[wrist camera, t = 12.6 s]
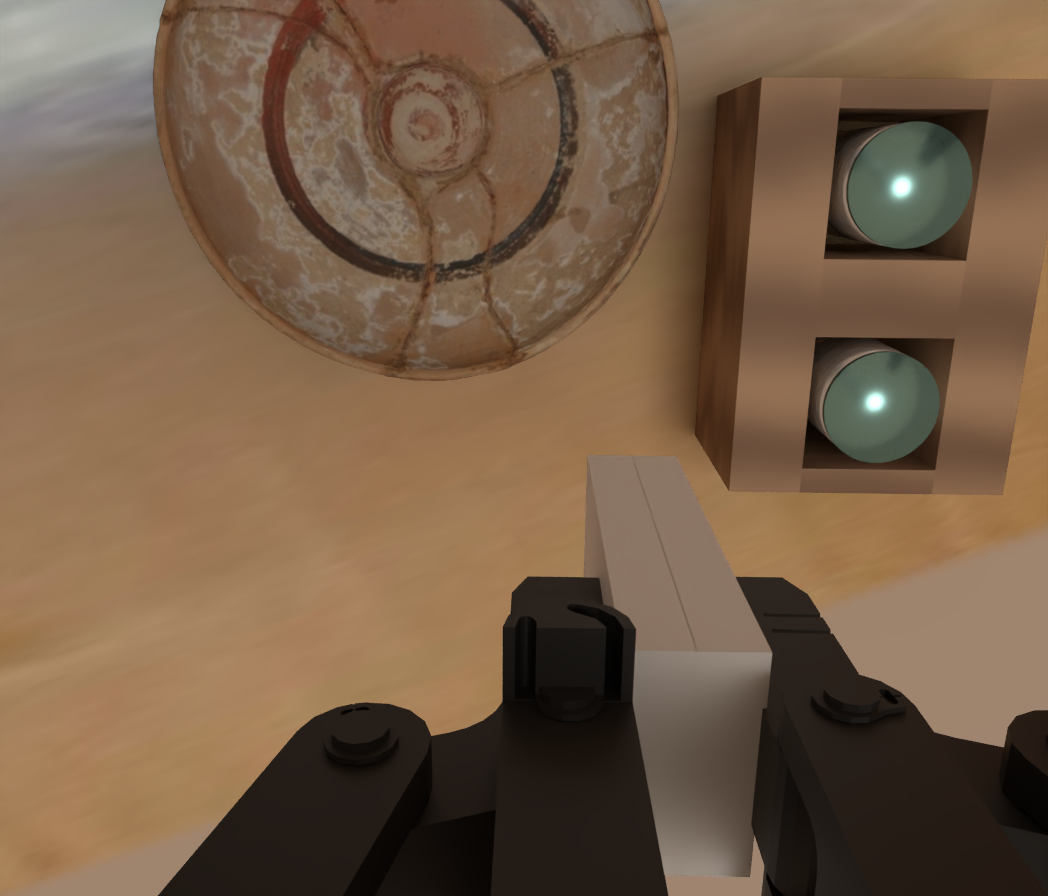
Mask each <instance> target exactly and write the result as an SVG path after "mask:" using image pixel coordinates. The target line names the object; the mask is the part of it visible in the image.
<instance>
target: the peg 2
mask: <svg viewBox="0 0 1048 896" xmlns="http://www.w3.org/2000/svg"><path fill="white" fill-rule="evenodd" d="M939 406H940V397H939V391H938V387H937V384H936V381H935V379H934V378H933V376H932V374H931V373H930V372H929V370H928V369H927V368H926V367H925V366H924V365H923V364H921V363H920V362H919V361H917V360H915V359H914V358H912V357H910V356H908V355H906V354H904V353H902V352H900V351H898V350H896V349H894V348H891V347H889V346H887V345H885V344H883V343H881V342H879V341H877V340H875V339H873V338H857V337H816V339H815V348H814V358H813V368H812V377H811V387H810V397H809V406H808V416H807V420H808V421H809V422H810V423H812V424H813V425H814V426H815V427H816V428H817V429H818V430H819V431H820V432H821V433H823V434H824V435H825V436H826V437H827V438H828V439H829V440H830V441H831V442H832V443H833V444H835V445H836V446H837V447H838V448H839V449H840V450H841V451H842V452H844V453H845V454H847V455H848V456H850V457H852V458H854V459H857V460H859V461H863V462H869V463H883V462H889V461H893V460H896V459H899V458H901V457H903V456H905V455H907V454H909V453H911V452H912V451H913V450H915V449H916V448H917V447H918V446H919V445H921V444H922V443H923V442H924V440H925V439H926V438H927V437H928V435H929V434H930V432H931V431H932V429H933V427H934V425H935V423H936V420H937V417H938V413H939Z"/></svg>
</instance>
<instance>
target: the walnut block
mask: <svg viewBox="0 0 1048 896" xmlns="http://www.w3.org/2000/svg"><path fill="white" fill-rule="evenodd" d="M838 121H858V122H900V123H907V122H918V121H919V122H928V123H933V124H936V125H939V126H941V127H943V128H945V129H947V130H949V131H950V132H951V133H952V134H954V135H955V136H956V137H957V138H958V139H959V140H960V142H961V143H962V144H963V146H964V147H965V149H966V151H967V153H968V156H969V159H970V162H971V167H972V178H973V179H972V189H971V193H970V197H969V200H968V203H967V205H966V207H965V209H964V211H963V213H962V215H961V216H960V218H959V219H958V220H957V222H956V223H955V224H954V225H953V226H952V227H951V228H950V229H949V230H948V231H947V232H946V233H945V234H943V235H942V236H941V237H939V238H938V239H936V240H934V241H932V242H930V243H928V244H926V245H923V246H919V247H915V248H908V249H899V248H891V247H887V246H882V245H877V244H825V242H826V232H827V223H828V213H829V203H830V194H831V184H832V174H833V165H834V155H835V145H836V136H837V126H838ZM1047 235H1048V80H1044V79H930V78H816V77H761V78H759V79H756V80H754V81H752V82H749V83H747V84H745V85H742V86H740V87H738V88H735V89H733V90H731V91H728V92H726V93H724V94H721V95H719V96H718V101H717V116H716V131H715V146H714V161H713V176H712V191H711V206H710V221H709V236H708V251H707V266H706V281H705V296H704V311H703V326H702V341H701V356H700V371H699V386H698V401H697V416H696V431H695V436H696V437H697V439H698V440H699V442H700V444H701V445H702V447H703V449H704V450H705V452H706V454H707V455H708V457H709V459H710V460H711V462H712V464H713V465H714V467H715V469H716V470H717V472H718V474H719V475H720V477H721V479H722V480H723V482H724V484H725V485H726V487H727V489H728V490H729V491H740V492H813V493H885V494H958V495H1003V490H1004V484H1005V478H1006V472H1007V467H1008V461H1009V455H1010V449H1011V443H1012V438H1013V432H1014V426H1015V420H1016V414H1017V409H1018V403H1019V397H1020V391H1021V385H1022V380H1023V374H1024V368H1025V362H1026V356H1027V351H1028V345H1029V339H1030V333H1031V327H1032V322H1033V316H1034V310H1035V304H1036V298H1037V293H1038V287H1039V281H1040V275H1041V269H1042V264H1043V258H1044V252H1045V246H1046V240H1047ZM816 337H857V338H874V339H875V340H877V341H879V342H881V343H883V344H885V345H887V346H889V347H891V348H894V349H896V350H898V351H900V352H902V353H904V354H906V355H908V356H910V357H912V358H914V359H915V360H917V361H919V362H920V363H921V364H923V365H924V366H925V367H926V368H927V369H928V370H929V372H930V373H931V374H932V376H933V378H934V379H935V381H936V384H937V387H938V391H939V397H940V406H939V413H938V417H937V420H936V423H935V425H934V427H933V429H932V431H931V432H930V434H929V435H928V437H927V438H926V439H925V440H924V442H923V443H922V444H921V445H919V446H918V447H917V448H916V449H915V450H913V451H912V452H911V453H909V454H907V455H905V456H903V457H901V458H899V459H896V460H893V461H889V462H883V463H869V462H863V461H859V460H857V459H854V458H852V457H850V456H848V455H847V454H845V453H844V452H842V451H841V450H840V449H839V448H838V447H837V446H836V445H835V444H833V443H832V442H831V441H830V440H829V439H828V438H827V437H826V436H825V435H824V434H823V433H821V432H820V431H819V430H818V429H817V428H816V427H815V426H814V425H813V424H812V423H810V422H809V421H808V420H807V416H808V406H809V397H810V387H811V377H812V368H813V358H814V348H815V339H816Z"/></svg>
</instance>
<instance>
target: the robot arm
mask: <svg viewBox="0 0 1048 896" xmlns="http://www.w3.org/2000/svg"><path fill="white" fill-rule="evenodd" d="M754 835H755V838H756V841H757V844H758V847H759V850H760V853H761V856H762V859H763V862H764V865H765V866H764V876H763V886H762V895H761V896H1048V710H1043V711H1042V710H1041V711H1040V710H1038V711H1037V710H1036V711H1031V712H1028V713H1025V714H1022V715H1019V716H1016V717H1015V719H1014V720H1013V721H1012V723H1011V724H1010V725H1009V727H1008V730H1007V735H1006V741H1005V746H1004V747H998V746H994V745H988V744H984V743H979V742H973V741H968V740H964V739H958V738H954V737H950V736H946V735H942V734H938V733H934V732H933V730H932V729H931V727H930V726H929V725H928V723H927V722H926V720H925V719H924V718H923V716H922V715H921V713H920V712H919V711H918V709H917V708H916V706H915V705H914V704H913V703H912V702H911V701H910V700H909V699H908V698H906V697H905V696H904V695H903V694H902V693H901V692H900V691H897V690H896V689H894V688H892V687H890V686H888V685H886V684H884V683H883V682H881V681H878V680H875V679H872V678H868V677H865V676H862V675H859V674H858V672H857V670H856V669H855V667H854V666H853V664H852V663H851V661H850V659H849V658H848V656H847V655H846V653H845V652H844V650H843V649H842V647H841V645H840V644H839V642H838V641H837V639H836V638H835V636H834V635H833V634H831V633H830V628H829V627H828V625H827V624H826V622H825V621H824V619H823V618H820V613H819V611H818V610H817V608H816V606H815V605H814V603H813V602H812V600H811V599H810V597H809V596H808V594H806V593H805V592H803V591H802V590H800V589H799V588H797V587H796V586H794V585H793V584H791V583H790V582H788V581H787V580H785V579H783V578H776V577H735V575H734V573H733V571H732V569H731V567H730V565H729V563H728V561H727V559H726V557H725V555H724V553H723V551H722V549H721V547H720V545H719V543H718V541H717V539H716V537H715V535H714V532H713V530H712V528H711V526H710V524H709V522H708V520H707V518H706V516H705V514H704V512H703V510H702V508H701V506H700V504H699V502H698V500H697V498H696V496H695V494H694V492H693V490H692V488H691V486H690V483H689V481H688V479H687V477H686V475H685V473H684V471H683V469H682V467H681V465H680V463H679V461H678V459H677V457H676V456H621V455H587V486H586V518H585V551H584V577H527V578H526V579H525V580H524V581H523V582H522V583H521V584H520V585H519V586H518V587H517V588H516V589H515V590H514V591H513V592H512V600H511V614H510V615H509V616H508V618H507V620H506V622H505V624H504V626H503V702H502V703H501V705H500V706H499V707H498V709H497V710H496V711H495V712H494V713H493V714H491V715H490V716H489V717H487V718H486V719H485V720H483V721H481V722H479V723H477V724H475V725H472V726H470V727H468V728H465V729H461V730H457V731H454V732H450V733H445V734H440V735H435V736H431V734H430V732H429V730H428V727H427V725H426V723H425V721H424V720H422V719H421V718H420V717H418V716H417V715H416V714H414V713H413V712H412V711H410V710H407V709H404V708H401V707H397V706H394V705H391V704H381V703H355V704H353V705H352V704H350V705H346V706H341V707H337V708H335V709H332V710H330V711H327V712H325V713H323V714H320V715H318V716H316V717H314V718H313V719H311V720H310V721H309V722H308V723H306V724H305V725H304V726H303V727H301V728H300V729H299V730H298V731H297V732H296V733H295V734H294V735H293V737H292V738H291V739H290V740H289V741H288V743H287V744H286V745H285V746H284V747H283V748H282V750H281V751H280V752H279V753H278V754H277V756H276V757H275V758H274V759H273V760H272V761H271V763H270V764H269V765H268V766H267V767H266V769H265V770H264V771H263V772H262V773H261V774H260V776H259V777H258V778H257V779H256V780H255V782H254V783H253V784H252V785H251V786H250V787H249V789H248V790H247V791H246V792H245V793H244V795H243V796H242V797H241V798H240V799H239V800H238V802H237V803H236V804H235V805H234V806H233V808H232V809H231V810H230V811H229V812H228V813H227V815H226V816H225V817H224V818H223V819H222V821H221V822H220V823H219V824H218V825H217V826H216V828H215V829H214V830H213V831H212V832H211V834H210V835H209V836H208V837H207V838H206V840H205V841H204V842H203V843H202V844H201V846H200V847H199V848H198V849H197V850H196V851H195V852H194V854H193V855H192V856H191V857H190V858H189V860H188V861H187V862H186V863H185V864H184V866H183V867H182V868H181V869H180V870H179V871H178V873H177V874H176V875H175V876H174V877H173V878H172V880H171V881H170V882H169V883H168V884H167V886H166V887H165V888H164V889H163V890H162V891H161V893H160V894H159V895H158V896H668V892H667V887H666V880H665V875H669V876H670V875H671V876H723V877H726V876H727V877H750V872H751V862H752V852H753V841H754Z"/></svg>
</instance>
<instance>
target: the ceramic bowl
mask: <svg viewBox="0 0 1048 896" xmlns="http://www.w3.org/2000/svg"><path fill="white" fill-rule="evenodd" d="M153 94H154V107H155V116H156V124H157V133H158V138H159V144H160V148H161V152H162V156H163V160H164V164H165V167H166V170H167V174H168V178H169V181H170V184H171V186H172V189H173V193H174V196H175V198H176V200H177V202H178V205H179V208H180V210H181V212H182V214H183V216H184V218H185V220H186V222H187V224H188V226H189V228H190V230H191V232H192V234H193V236H194V237H195V239H196V241H197V242H198V244H199V246H200V247H201V249H202V250H203V252H204V253H205V255H206V257H207V258H208V260H209V261H210V263H211V264H212V266H213V267H214V268H215V269H216V271H217V272H218V273H219V275H220V276H221V277H222V278H223V280H224V281H225V282H226V283H227V284H228V286H229V287H230V288H231V289H232V290H233V291H234V292H235V293H236V295H237V296H238V297H239V298H240V299H241V300H243V301H244V302H245V303H246V304H247V305H248V306H249V307H250V308H252V309H253V310H254V311H255V312H256V313H257V314H258V315H259V316H261V317H262V318H263V319H264V320H265V321H267V322H268V323H269V324H270V325H272V326H273V327H274V328H276V329H277V330H279V331H281V332H282V333H284V334H285V335H287V336H289V337H290V338H292V339H293V340H295V341H296V342H298V343H299V344H301V345H303V346H305V347H307V348H309V349H311V350H313V351H315V352H317V353H319V354H321V355H323V356H325V357H328V358H330V359H333V360H335V361H338V362H340V363H343V364H346V365H349V366H352V367H355V368H359V369H362V370H365V371H369V372H372V373H376V374H380V375H384V376H388V377H396V378H401V379H409V380H431V381H440V380H453V379H461V378H466V377H471V376H476V375H481V374H486V373H491V372H496V371H500V370H504V369H507V368H509V367H511V366H513V365H515V364H517V363H520V362H522V361H525V360H527V359H529V358H531V357H533V356H535V355H537V354H539V353H541V352H542V351H544V350H546V349H548V348H549V347H551V346H553V345H554V344H556V343H557V342H559V341H560V340H562V339H563V338H565V337H566V336H568V335H569V334H570V333H572V332H573V331H574V330H575V329H577V328H578V327H579V326H580V325H582V324H583V323H584V322H585V321H587V320H588V319H589V318H590V317H591V316H592V315H593V314H594V313H595V312H596V311H597V310H598V309H599V308H600V307H601V306H602V305H603V304H604V303H605V302H606V301H607V300H608V299H609V298H610V296H611V295H612V294H613V293H614V291H615V290H616V289H617V287H618V286H619V285H620V284H621V282H622V281H623V280H624V278H625V277H626V276H627V274H628V273H629V271H630V270H631V268H632V267H633V265H634V263H635V262H636V260H637V259H638V257H639V256H640V254H641V252H642V250H643V248H644V246H645V244H646V242H647V241H648V239H649V236H650V234H651V232H652V230H653V228H654V226H655V224H656V221H657V219H658V216H659V214H660V211H661V208H662V206H663V202H664V199H665V196H666V192H667V189H668V185H669V181H670V177H671V173H672V167H673V162H674V156H675V150H676V142H677V133H678V114H679V110H678V83H677V72H676V64H675V58H674V51H673V46H672V41H671V37H670V34H669V31H668V28H667V22H666V19H665V16H664V14H663V11H662V8H661V5H660V2H659V0H166V2H165V5H164V8H163V12H162V15H161V18H160V27H159V30H158V34H157V39H156V47H155V57H154V71H153Z"/></svg>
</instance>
